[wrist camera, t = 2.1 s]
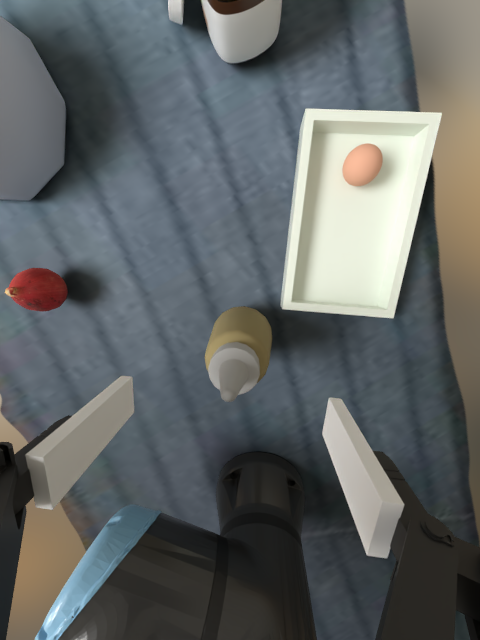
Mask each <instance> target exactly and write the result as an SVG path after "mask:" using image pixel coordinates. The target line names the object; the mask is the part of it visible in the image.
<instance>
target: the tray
mask: <svg viewBox="0 0 480 640" xmlns="http://www.w3.org/2000/svg"><path fill="white" fill-rule="evenodd" d="M441 115H442V113H428V112H396V111H363V110H331V109H306V110H305V113H304V116H303V120H302V123H301V126H300V135H299V144H298V153H297V162H296V170H295V179H294V188H293V197H292V206H291V215H290V223H289V232H288V241H287V250H286V259H285V268H284V277H283V285H282V294H281V303H280V305H281V307H282V309H286V310H298V311H311V312H323V313H335V314H347V315H359V316H371V317H383V318H394V314H395V309H396V305H397V301H398V297H399V293H400V288H401V284H402V280H403V276H404V271H405V267H406V263H407V259H408V255H409V250H410V246H411V242H412V238H413V234H414V229H415V225H416V221H417V217H418V213H419V208H420V204H421V200H422V196H423V191H424V187H425V183H426V179H427V175H428V170H429V166H430V162H431V158H432V154H433V149H434V145H435V141H436V136H437V132H438V128H439V124H440V120H441ZM366 143H369V144H374V145H376V146H377V147H378V148H379V149H380V150H381V153H382V156H383V162H382V167H381V169H380V171H379V173H378V175H377V176H376V177H375V178H374V179H373V180H372V181H371V182H369V183H368V184H366V185H363V186H352V185H350V184H348V183H347V182H346V181H345V179H344V177H343V173H342V169H343V164H344V161H345V159H346V157H347V155H348V154H349V153H350V152H351V151H352V150H353V149H354V148H356V147H357V146H359V145H362V144H366Z"/></svg>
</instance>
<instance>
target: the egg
mask: <svg viewBox="0 0 480 640" xmlns="http://www.w3.org/2000/svg"><path fill="white" fill-rule="evenodd" d="M382 162H383V156H382V153H381V150H380V149H379V148H378V147H377V146H376V145H374V144H369V143H366V144H362V145H359V146H357V147H356V148H354V149H353V150H352V151H351V152H350V153H349V154H348V155H347V157H346V159H345V161H344V164H343V169H342V173H343V177H344V179H345V181H346V182H347V183H348V184H350V185H352V186H363V185H366V184H368V183H369V182H371V181H372V180H373V179H374V178H375V177H376V176H377V175H378V173H379V171H380V169H381V167H382Z"/></svg>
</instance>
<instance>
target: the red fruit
mask: <svg viewBox="0 0 480 640" xmlns="http://www.w3.org/2000/svg"><path fill="white" fill-rule="evenodd" d="M5 293H6V294H8V295H9V296H11V298H12V299H13V300H14V301H15V302H16V303H18V304H19V305H21V306H22V307H24V308H26V309H29V310H36V311H49V310H52V309H55V308H58V307H60V306H61V305H62V304H63V302H64V301H65V300H66V298H67V293H68V291H67V286H66V284H65V282H64V280H63V279H62V278H61V277H60V276H59V275H58V274H56V273H54V272H52V271H50V270H48V269H43V268H31V269H27V270H25V271H22V272H20V273H18V274H17V275H16V276H15V277H14V278H13V279H12V281H11V283H10V286H9V287H8V288H7V289H6V291H5Z"/></svg>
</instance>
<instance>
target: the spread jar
mask: <svg viewBox="0 0 480 640" xmlns="http://www.w3.org/2000/svg"><path fill="white" fill-rule="evenodd" d="M201 4H202V8H203V13H204V17H205V21H206V25H207V29H208V32H209V35H210V38H211V41H212V43H213V45H214V48H215V50H216V52H217V53H218V55H219V56H220V58H221V59H222V60H223V61H224V62H226V63H229V64H239V63H244V62H247V61H250V60H252V59H254V58H256V57H258V56H260V55H261V54H262V53H264V52H265V51H266V50H267V49H268V48H269V47H270V46H271V45H272V44H273V43H274V41H275V39H276V38H277V35H278V31H279V26H280V19H281V8H282V0H201ZM168 9H169V19H170V20H171V21H173V22H176V23H178V24H181V25H182V24H183V13H184V0H168Z"/></svg>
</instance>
